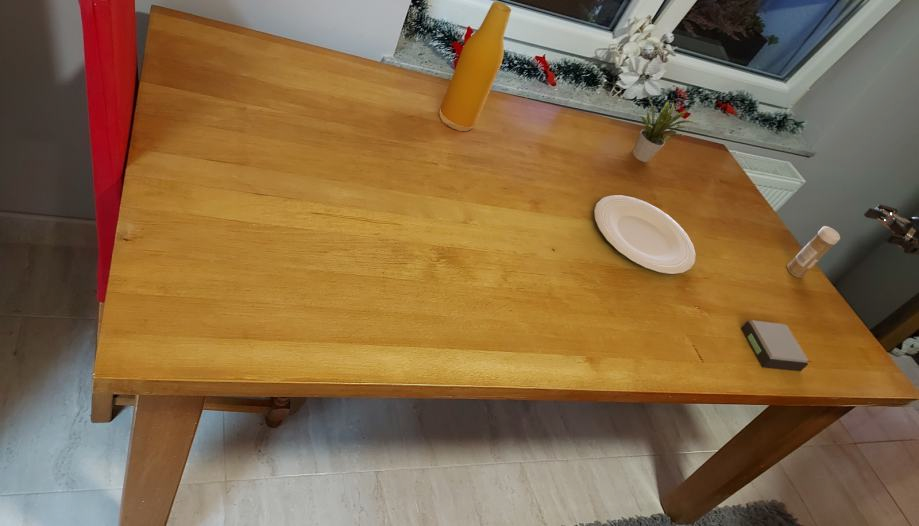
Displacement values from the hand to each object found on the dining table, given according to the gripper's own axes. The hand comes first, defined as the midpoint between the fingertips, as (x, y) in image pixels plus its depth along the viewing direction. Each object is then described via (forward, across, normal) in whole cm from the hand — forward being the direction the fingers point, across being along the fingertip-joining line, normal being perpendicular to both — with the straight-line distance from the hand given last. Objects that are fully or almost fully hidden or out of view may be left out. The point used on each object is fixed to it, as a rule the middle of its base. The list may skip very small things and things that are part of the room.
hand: (877, 225), depth 157 cm
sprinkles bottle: (+10, 0, +18) cm, 21 cm away
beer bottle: (+93, -35, +18) cm, 101 cm away
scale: (+33, +26, +17) cm, 46 cm away
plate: (+53, -3, +18) cm, 56 cm away
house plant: (+39, -36, +18) cm, 56 cm away
